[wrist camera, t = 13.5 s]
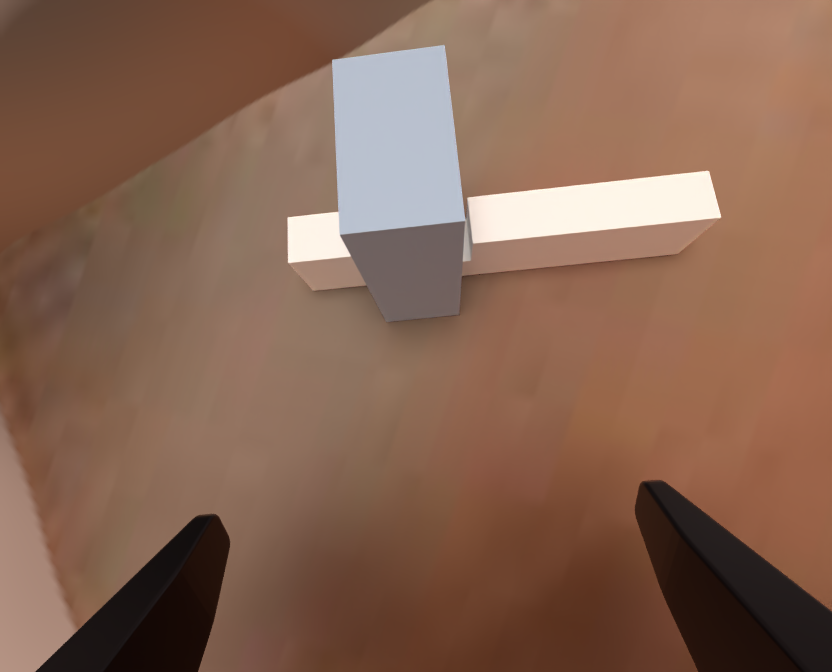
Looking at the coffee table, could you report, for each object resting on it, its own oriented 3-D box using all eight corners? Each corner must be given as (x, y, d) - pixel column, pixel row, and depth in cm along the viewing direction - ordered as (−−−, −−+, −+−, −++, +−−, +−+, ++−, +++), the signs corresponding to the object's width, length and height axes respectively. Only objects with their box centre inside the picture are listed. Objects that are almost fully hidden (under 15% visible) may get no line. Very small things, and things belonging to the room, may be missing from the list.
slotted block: (459, 314, 24) (465, 221, 14) (386, 322, 24) (339, 234, 14) (447, 202, 26) (444, 45, 16) (378, 210, 26) (332, 59, 16)
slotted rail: (677, 254, 24) (721, 217, 20) (313, 290, 25) (288, 262, 21) (667, 213, 25) (708, 170, 21) (312, 251, 26) (287, 217, 22)
